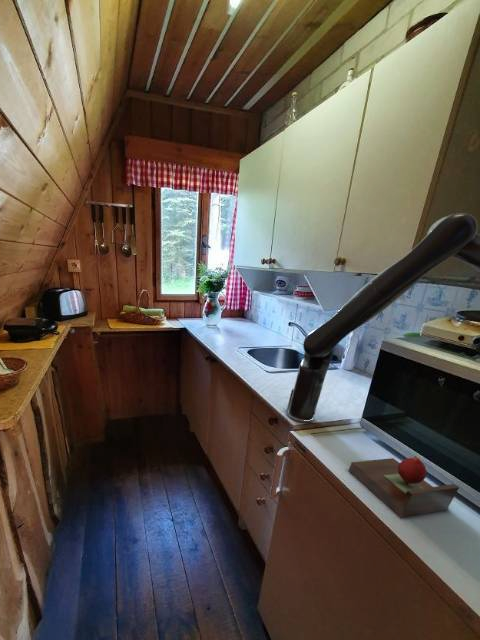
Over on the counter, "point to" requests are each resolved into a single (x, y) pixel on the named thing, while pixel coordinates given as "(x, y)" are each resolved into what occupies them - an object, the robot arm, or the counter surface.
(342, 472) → the counter surface
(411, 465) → the red pomegranate
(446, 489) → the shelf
